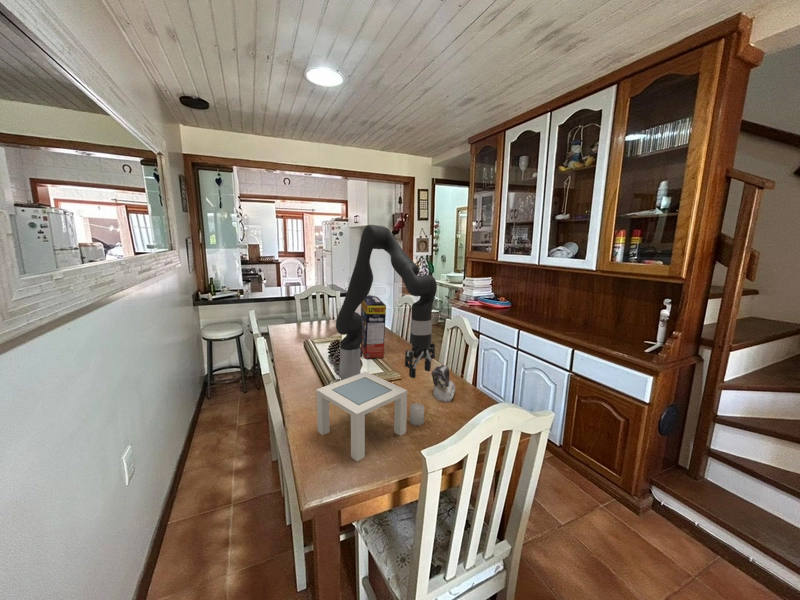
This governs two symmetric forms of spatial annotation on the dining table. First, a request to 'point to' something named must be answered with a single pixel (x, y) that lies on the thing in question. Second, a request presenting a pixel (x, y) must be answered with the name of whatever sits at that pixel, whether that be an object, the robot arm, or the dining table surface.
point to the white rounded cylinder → (417, 414)
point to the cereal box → (373, 327)
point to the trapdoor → (361, 391)
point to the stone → (442, 384)
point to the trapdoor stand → (360, 410)
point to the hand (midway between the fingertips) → (420, 374)
